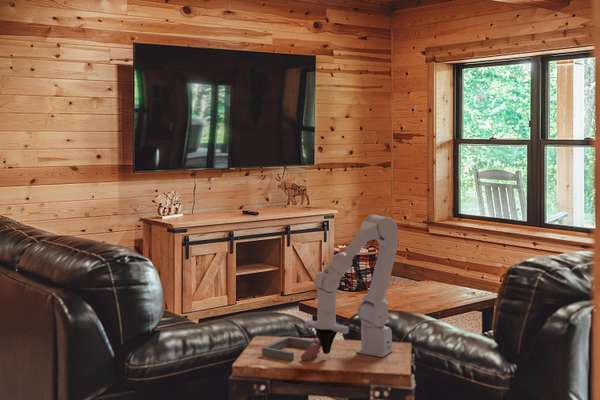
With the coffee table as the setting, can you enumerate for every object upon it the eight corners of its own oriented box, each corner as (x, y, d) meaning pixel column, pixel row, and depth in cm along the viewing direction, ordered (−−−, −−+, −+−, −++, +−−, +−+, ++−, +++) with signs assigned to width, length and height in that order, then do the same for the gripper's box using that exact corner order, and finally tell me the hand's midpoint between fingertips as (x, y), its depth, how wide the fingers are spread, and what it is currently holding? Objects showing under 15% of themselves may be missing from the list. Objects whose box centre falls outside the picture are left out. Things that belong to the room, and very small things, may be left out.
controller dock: (317, 348, 243) (317, 341, 243) (291, 361, 230) (291, 353, 230) (288, 343, 249) (288, 336, 249) (262, 355, 236) (262, 347, 236)
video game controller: (312, 366, 230) (322, 347, 229) (299, 359, 230) (309, 340, 229) (317, 357, 239) (327, 338, 238) (305, 350, 240) (314, 331, 239)
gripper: (299, 310, 231) (300, 352, 233) (340, 316, 224) (340, 360, 225) (311, 305, 237) (311, 346, 239) (351, 311, 230) (351, 353, 231)
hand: (326, 352), depth 232 cm, fingers closed
